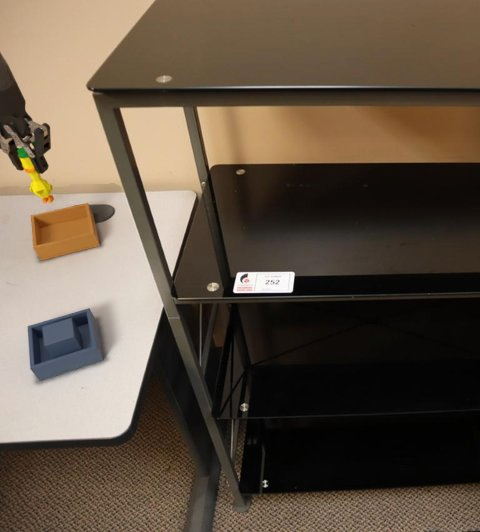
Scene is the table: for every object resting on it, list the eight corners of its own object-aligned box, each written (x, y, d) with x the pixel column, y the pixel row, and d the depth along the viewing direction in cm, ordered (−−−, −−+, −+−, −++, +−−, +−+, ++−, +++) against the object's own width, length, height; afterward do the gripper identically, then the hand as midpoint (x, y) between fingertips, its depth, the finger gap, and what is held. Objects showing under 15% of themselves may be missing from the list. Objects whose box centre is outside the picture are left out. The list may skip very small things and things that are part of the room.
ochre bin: (37, 228, 109) (30, 215, 107) (93, 215, 113) (87, 202, 111) (40, 260, 103) (33, 247, 100) (100, 245, 107) (94, 233, 104)
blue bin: (36, 338, 90) (27, 326, 87) (96, 320, 94) (89, 307, 91) (39, 381, 84) (30, 369, 82) (103, 360, 88) (96, 347, 85)
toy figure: (40, 190, 103) (15, 137, 94) (61, 188, 104) (37, 136, 95) (35, 211, 98) (8, 158, 90) (56, 209, 99) (31, 156, 91)
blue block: (52, 342, 89) (42, 326, 86) (80, 333, 91) (71, 317, 88) (55, 361, 86) (44, 345, 83) (83, 351, 88) (74, 336, 85)
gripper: (43, 77, 86) (80, 164, 98) (-36, 66, 87) (11, 153, 99) (12, 98, 81) (56, 187, 93) (-71, 85, 82) (-17, 175, 94)
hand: (33, 169), depth 96 cm, fingers closed on toy figure, 3 cm apart
